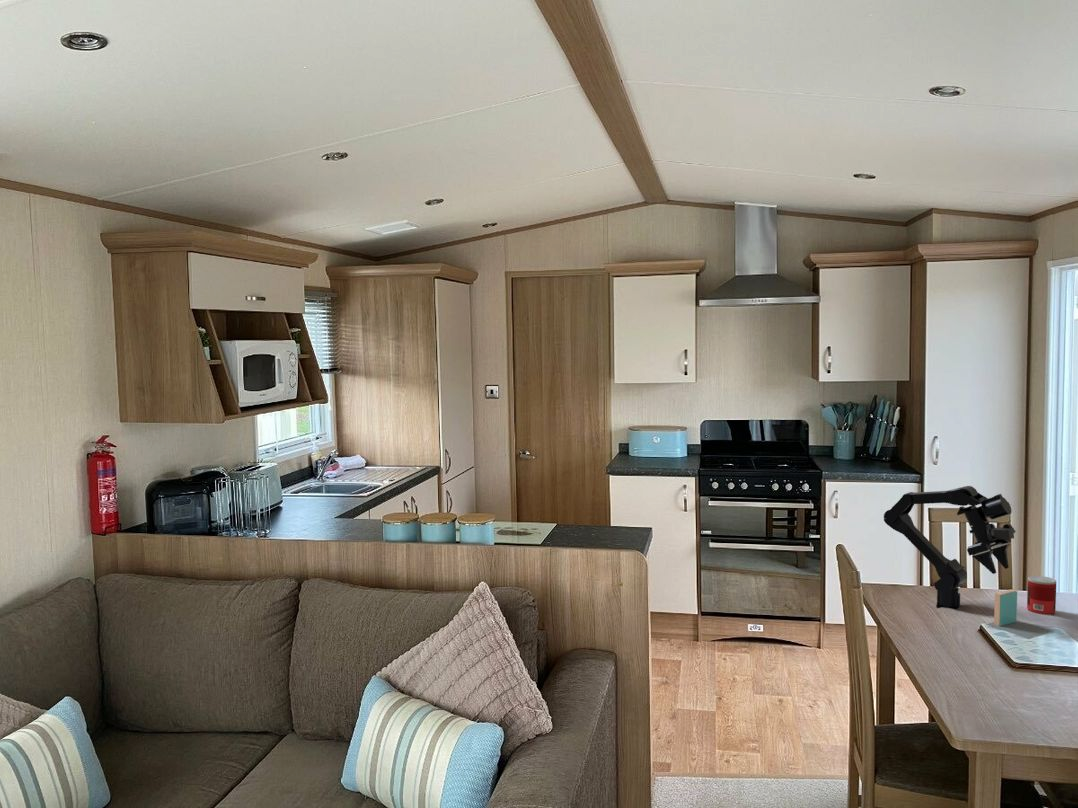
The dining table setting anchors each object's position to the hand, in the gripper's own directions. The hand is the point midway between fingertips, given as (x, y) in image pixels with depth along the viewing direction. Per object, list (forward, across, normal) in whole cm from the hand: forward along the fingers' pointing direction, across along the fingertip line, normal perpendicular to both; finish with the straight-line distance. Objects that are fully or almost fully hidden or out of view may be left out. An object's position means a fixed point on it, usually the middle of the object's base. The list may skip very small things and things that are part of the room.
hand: (1000, 570), depth 266 cm
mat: (+18, -5, 0) cm, 18 cm away
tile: (+15, -4, +4) cm, 16 cm away
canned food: (+17, +16, +1) cm, 23 cm away
